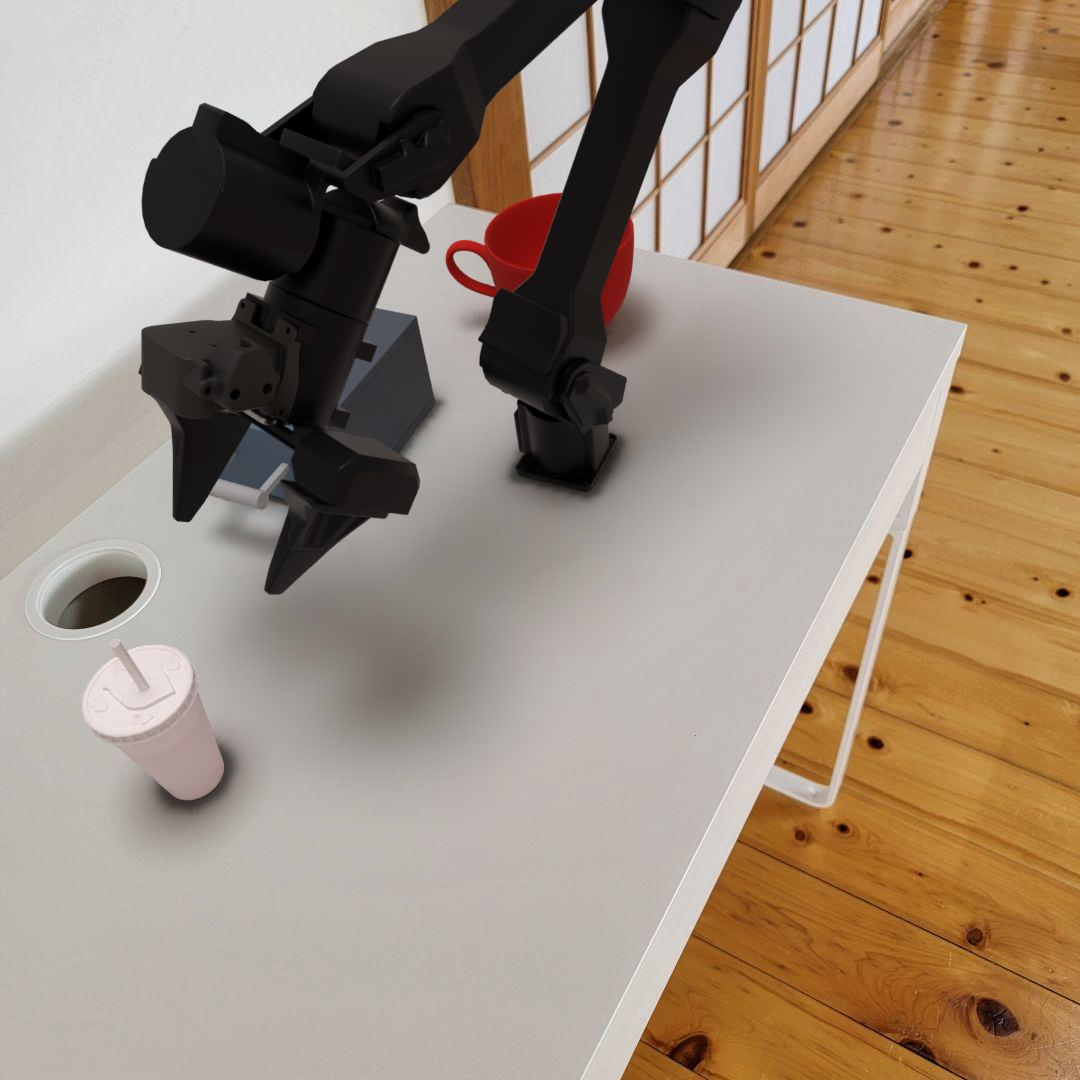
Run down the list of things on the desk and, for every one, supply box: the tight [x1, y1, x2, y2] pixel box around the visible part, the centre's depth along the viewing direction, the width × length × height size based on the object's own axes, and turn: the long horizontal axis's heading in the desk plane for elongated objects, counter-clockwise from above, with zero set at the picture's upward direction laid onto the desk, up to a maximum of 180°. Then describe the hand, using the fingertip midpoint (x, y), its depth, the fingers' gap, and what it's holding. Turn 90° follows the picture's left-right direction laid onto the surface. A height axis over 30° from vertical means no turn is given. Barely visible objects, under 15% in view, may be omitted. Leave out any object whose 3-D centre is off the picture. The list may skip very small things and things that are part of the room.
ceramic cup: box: [444, 192, 635, 328], centre depth 90 cm, size 13×17×10 cm
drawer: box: [209, 423, 295, 511], centre depth 79 cm, size 17×11×7 cm
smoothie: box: [81, 638, 225, 801], centre depth 59 cm, size 6×6×14 cm
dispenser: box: [327, 307, 436, 454], centre depth 82 cm, size 14×13×9 cm
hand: (224, 555), depth 58 cm, fingers open, 9 cm apart
